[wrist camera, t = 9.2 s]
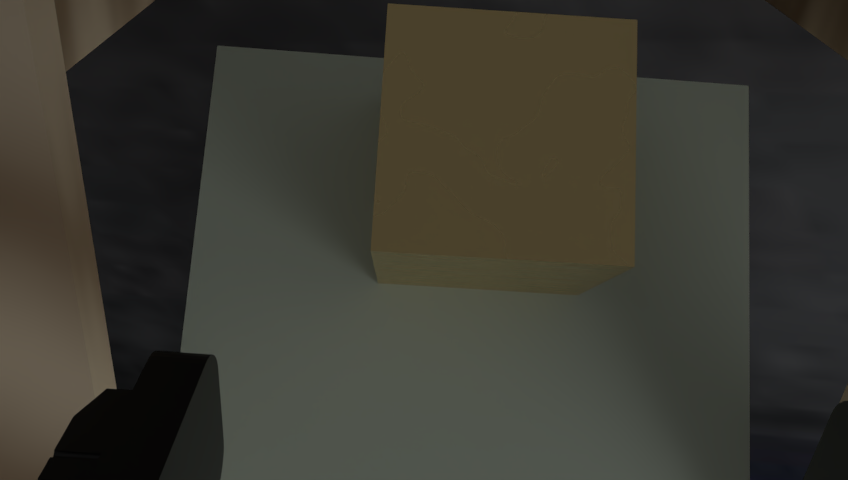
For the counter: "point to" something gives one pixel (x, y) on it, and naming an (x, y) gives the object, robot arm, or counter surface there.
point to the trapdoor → (461, 303)
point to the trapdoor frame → (70, 226)
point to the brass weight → (505, 150)
